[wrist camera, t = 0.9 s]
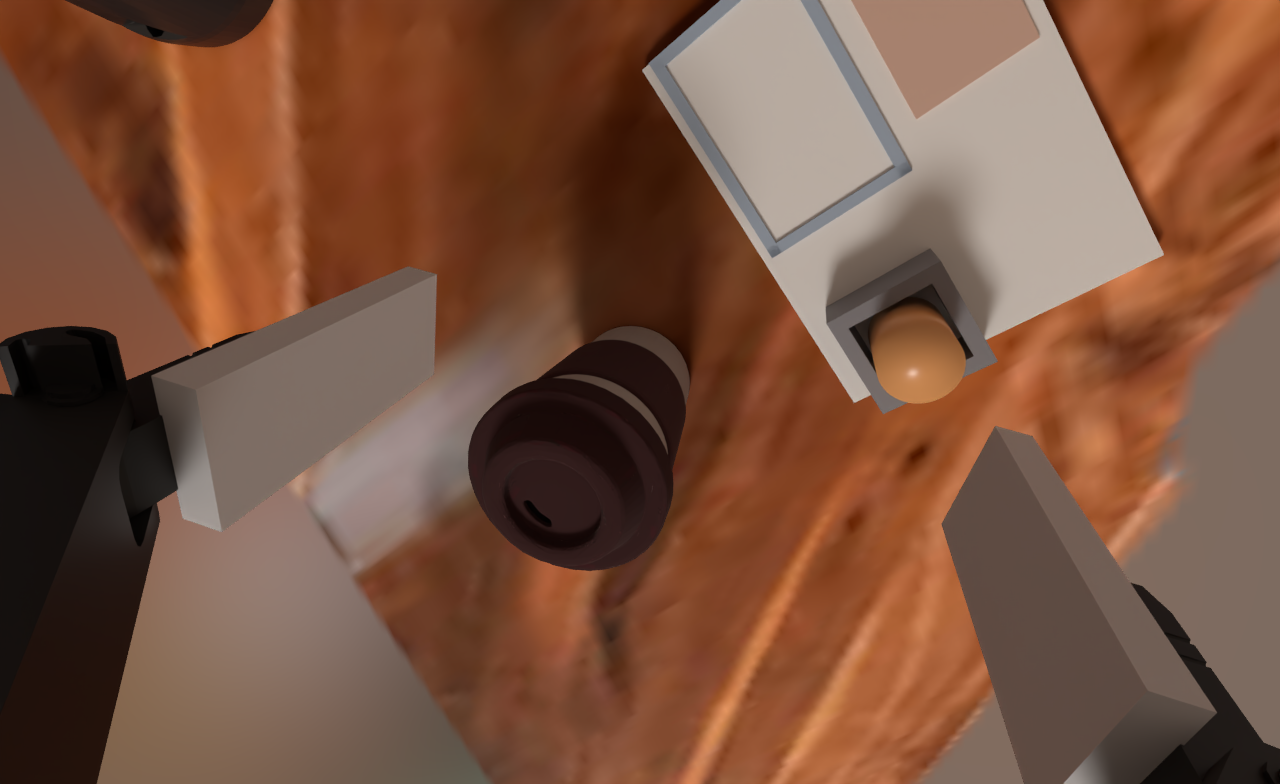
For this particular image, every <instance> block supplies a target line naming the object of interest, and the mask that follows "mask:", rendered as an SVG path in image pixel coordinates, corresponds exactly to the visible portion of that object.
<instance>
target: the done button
mask: <svg viewBox="0 0 1280 784" xmlns="http://www.w3.org/2000/svg"><path fill="white" fill-rule="evenodd" d="M868 339H869V344H870V348H871V352H872V356H873V361H874V365H875V369H876V373H877V377H878V380H879V382H880V384H881V386H882V387H883V389H884V390H885V391H886V392H887V393H888V394H890V395H891V396H893V397H894V398H896V399H898V400H901V401H904V402H908V403H927V402H932V401H935V400H938V399H940V398H942V397H944V396H946V395H947V394H948V393H950V392H951V391H952V390H953V389H954V388H955V387H956V386H957V385H958V384H959V382H960V381H961V379H962V377H963V374H964V372H965V367H966V358H965V354H964V350H963V348H962V346H961V345H960V343H959V341H958V340H957V338H956V337H955V335H954V333H953V332H952V330H951V328H950V327H949V325H948V324H947V322H946V320H945V319H944V317H943V316H942V314H941V312H940V311H939V310H938V308H937V307H936V306H934V305H933V304H932V303H930V302H929V301H927V300H924V299H921V298H917V297H906V298H904V299H903V300H901V301H899V302H897V303H895V304H893V305H891V306H889V307H888V308H886V309H884V310H882V311H880V312H878V313H876V314H875V315H874V316H873V317H872V319H871V321H870V324H869V328H868Z"/></svg>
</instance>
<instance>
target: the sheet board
mask: <svg viewBox="0 0 1280 784" xmlns="http://www.w3.org/2000/svg"><path fill="white" fill-rule="evenodd" d="M642 71H643V73H644V74H645V76H646V77H647V79H648V80H649V82H650V84H651V85H652V87H653V88H654V90H655V91H656V93H657V95H658V96H659V98H660V99H661V101H662V102H663V104H664V106H665V107H666V109H667V110H668V112H669V113H670V115H671V116H672V118H673V120H674V121H675V123H676V124H677V126H678V127H679V129H680V131H681V132H682V134H683V135H684V137H685V138H686V140H687V142H688V143H689V145H690V146H691V148H692V149H693V151H694V153H695V154H696V156H697V157H698V159H699V160H700V162H701V163H702V165H703V167H704V168H705V170H706V171H707V173H708V174H709V176H710V178H711V179H712V181H713V182H714V184H715V185H716V187H717V189H718V190H719V192H720V193H721V195H722V196H723V198H724V200H725V201H726V203H727V204H728V206H729V207H730V209H731V211H732V212H733V214H734V215H735V217H736V218H737V220H738V221H739V223H740V225H741V226H742V228H743V229H744V231H745V232H746V234H747V236H748V237H749V239H750V240H751V242H752V243H753V245H754V247H755V248H756V250H757V251H758V253H759V254H760V256H761V258H762V259H763V261H764V262H765V264H766V265H767V267H768V269H769V270H770V272H771V273H772V275H773V276H774V278H775V279H776V281H777V283H778V284H779V286H780V287H781V289H782V290H783V292H784V294H785V295H786V297H787V298H788V300H789V301H790V303H791V305H792V306H793V308H794V309H795V311H796V312H797V314H798V316H799V317H800V319H801V320H802V322H803V323H804V325H805V327H806V328H807V330H808V331H809V333H810V334H811V336H812V337H813V339H814V341H815V342H816V344H817V345H818V347H819V348H820V350H821V352H822V353H823V355H824V356H825V358H826V359H827V361H828V363H829V364H830V366H831V367H832V369H833V370H834V372H835V374H836V375H837V377H838V378H839V380H840V381H841V383H842V384H843V386H844V388H845V389H846V391H847V392H848V394H849V395H850V397H851V399H852V400H853V402H854V403H855V402H857V401H859V400H861V399H863V398H865V397H867V396H869V395H872V397H873V399H874V400H875V402H876V403H877V405H878V407H879V408H880V410H881V411H882V413H883V414H884V413H886V412H889V411H891V410H893V409H895V408H897V407H900V406H902V405H904V404H906V403H908V402H904V401H901V400H898V399H896V398H894V397H893V396H891V395H890V394H888V393H887V392H886V391H885V390H884V389H883V387H882V386H881V384H880V382H879V380H878V377H877V373H876V369H875V365H874V361H873V356H872V352H871V348H870V344H869V339H868V328H869V324H870V321H871V319H872V317H873V316H874V315H875V314H876V313H878V312H880V311H882V310H884V309H886V308H888V307H889V306H891V305H893V304H895V303H897V302H899V301H901V300H903V299H904V298H906V297H917V298H921V299H924V300H927V301H929V302H930V303H932V304H933V305H934V306H936V307H937V308H938V310H939V311H940V312H941V314H942V316H943V317H944V319H945V320H946V322H947V324H948V325H949V327H950V328H951V330H952V332H953V333H954V335H955V337H956V338H957V340H958V341H959V343H960V345H961V346H962V348H963V350H964V354H965V358H966V367H965V372H964V374H963V377H965V376H967V375H969V374H971V373H974V372H976V371H978V370H980V369H982V368H985V367H987V366H989V365H991V364H993V363H995V362H998V361H997V359H996V357H995V356H994V354H993V352H992V350H991V349H990V347H989V345H988V343H987V342H986V340H987V339H989V338H991V337H993V336H995V335H997V334H999V333H1001V332H1003V331H1006V330H1008V329H1010V328H1012V327H1014V326H1016V325H1018V324H1020V323H1022V322H1024V321H1026V320H1029V319H1031V318H1033V317H1035V316H1037V315H1039V314H1041V313H1043V312H1045V311H1047V310H1049V309H1052V308H1054V307H1056V306H1058V305H1060V304H1062V303H1064V302H1066V301H1068V300H1070V299H1073V298H1075V297H1077V296H1079V295H1081V294H1083V293H1085V292H1087V291H1089V290H1091V289H1093V288H1096V287H1098V286H1100V285H1102V284H1104V283H1106V282H1108V281H1110V280H1112V279H1114V278H1116V277H1119V276H1121V275H1123V274H1125V273H1127V272H1129V271H1131V270H1133V269H1135V268H1137V267H1140V266H1142V265H1144V264H1146V263H1148V262H1150V261H1152V260H1154V259H1156V258H1158V257H1160V256H1163V255H1164V254H1163V251H1162V249H1161V247H1160V245H1159V243H1158V241H1157V239H1156V237H1155V235H1154V233H1153V230H1152V228H1151V226H1150V224H1149V222H1148V220H1147V218H1146V216H1145V214H1144V212H1143V209H1142V207H1141V205H1140V203H1139V201H1138V199H1137V197H1136V195H1135V193H1134V190H1133V188H1132V186H1131V184H1130V182H1129V180H1128V178H1127V176H1126V174H1125V172H1124V169H1123V167H1122V165H1121V163H1120V161H1119V159H1118V157H1117V155H1116V153H1115V150H1114V148H1113V146H1112V144H1111V142H1110V140H1109V138H1108V136H1107V134H1106V132H1105V129H1104V127H1103V125H1102V123H1101V121H1100V119H1099V117H1098V115H1097V113H1096V111H1095V108H1094V106H1093V104H1092V102H1091V100H1090V98H1089V96H1088V94H1087V92H1086V89H1085V87H1084V85H1083V83H1082V81H1081V79H1080V77H1079V75H1078V73H1077V71H1076V68H1075V66H1074V64H1073V62H1072V60H1071V58H1070V56H1069V54H1068V52H1067V50H1066V47H1065V45H1064V43H1063V41H1062V39H1061V37H1060V35H1059V33H1058V31H1057V28H1056V26H1055V24H1054V22H1053V20H1052V18H1051V16H1050V14H1049V12H1048V10H1047V7H1046V5H1045V3H1044V1H1043V0H720V1H719V2H718V3H717V4H716V5H715V6H713V7H712V8H711V9H710V10H709V11H708V12H707V13H705V14H704V15H703V16H702V17H701V18H700V19H699V20H697V21H696V22H695V23H694V24H693V25H692V26H691V27H689V28H688V29H687V30H686V31H685V32H684V33H683V34H681V35H680V36H679V37H678V38H677V39H676V40H675V41H673V42H672V43H671V44H670V45H669V46H668V47H667V48H666V49H664V50H663V51H662V52H661V53H660V54H659V55H658V56H656V57H655V58H654V59H653V60H652V61H651V62H650V63H649V64H648V65H647V66H646V67H645V68H644V69H643V70H642ZM963 377H962V378H963Z"/></svg>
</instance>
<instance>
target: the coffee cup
mask: <svg viewBox="0 0 1280 784" xmlns="http://www.w3.org/2000/svg"><path fill="white" fill-rule="evenodd" d="M689 387H690V378H689V372H688V369H687V365H686V363H685V361H684V359H683V357H682V355H681V353H680V352H679V351H678V349H677V348H676V347H675V345H673V344H672V343H671V342H670V341H669V340H668V339H667V338H665V337H664V336H662V335H661V334H659V333H657V332H655V331H653V330H650V329H647V328H643V327H637V326H624V327H618V328H614V329H611V330H609V331H607V332H605V333H603V334H601V335H600V336H599V337H597V338H596V339H595V340H594V341H592V342H591V343H589V344H586V345H584V346H582V347H580V348H578V349H577V350H575V351H574V352H573V353H571V354H570V355H569V356H567V357H566V358H565V359H563V360H562V361H561V362H559V363H558V364H557V365H556V366H554V367H553V368H552V369H550V370H549V371H548V372H546V373H545V374H544V375H542V376H541V377H540V378H539V379H537V380H536V381H532V382H529V383H526V384H524V385H521V386H519V387H517V388H515V389H513V390H512V391H510V392H508V393H507V394H506V395H505V396H503V397H502V398H501V399H500V400H499V401H498V402H497V403H496V404H494V405H493V406H492V407H491V408H490V409H489V410H488V411H487V412H486V413H485V414H484V416H483V417H482V418H481V420H480V421H479V422H478V424H477V426H476V428H475V430H474V432H473V434H472V438H471V441H470V445H469V451H468V469H469V476H470V480H471V483H472V487H473V490H474V493H475V495H476V497H477V499H478V501H479V504H480V506H481V507H482V509H483V510H484V512H485V514H486V515H487V517H488V518H489V520H490V521H491V522H492V523H493V525H494V526H495V527H496V528H497V529H498V530H499V531H500V532H501V534H502V535H503V536H504V537H505V538H506V539H507V540H508V541H509V542H510V543H512V544H513V545H514V546H516V547H517V548H518V549H520V550H521V551H522V552H524V553H526V554H528V555H530V556H532V557H534V558H536V559H538V560H540V561H544V562H547V563H550V564H552V565H555V566H560V567H564V568H568V569H573V570H587V571H592V570H604V569H609V568H613V567H617V566H620V565H622V564H625V563H627V562H629V561H631V560H633V559H635V558H636V557H638V556H639V555H640V554H642V553H643V552H645V551H646V550H647V549H648V548H649V547H650V546H651V545H652V543H653V542H654V541H655V540H656V538H657V536H658V535H659V533H660V531H661V529H662V527H663V525H664V522H665V519H666V517H667V514H668V511H669V508H670V505H671V500H672V496H673V473H672V469H673V465H674V461H675V457H676V454H677V450H678V446H679V442H680V438H681V434H682V430H683V427H684V422H685V415H686V406H685V405H686V402H687V398H688V394H689Z"/></svg>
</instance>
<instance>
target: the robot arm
mask: <svg viewBox="0 0 1280 784" xmlns="http://www.w3.org/2000/svg"><path fill="white" fill-rule="evenodd" d="M65 1H68V2H70V3H72V4H74V5H76V6H79V7H81V8H83V9H85V10H87V11H90V12H92V13H94V14H96V15H98V16H101V17H103V18H105V19H107V20H109V21H112V22H114V23H116V24H119V25H122V26H124V27H126V28H127V29H129V30H131V31H134V32H136V33H138V34H140V35H143V36H145V37H148V38H151V39H154V40H157V41H161V42H165V43H170V44H178V45H188V46H197V47H218V46H223V45H227V44H230V43H233V42H235V41H237V40H239V39H241V38H243V37H244V36H246V35H247V34H248V33H249V32H251V31H252V30H253V29H254V28H255V27H256V26H257V25H258V24H259V23H260V21H261V20H262V19H263V17H264V16H265V14H266V13H267V11H268V10H269V8H270V6H271V4H272V2H273V0H65ZM436 281H437V274H434V273H430V272H426V271H423V270H419V269H415V268H412V267H406V268H403V269H401V270H399V271H396V272H394V273H392V274H389V275H387V276H385V277H382V278H380V279H377V280H375V281H373V282H370V283H368V284H366V285H363V286H361V287H359V288H356V289H354V290H352V291H349V292H347V293H345V294H342V295H340V296H337V297H335V298H333V299H330V300H328V301H326V302H323V303H321V304H319V305H316V306H314V307H312V308H309V309H307V310H304V311H302V312H300V313H297V314H295V315H293V316H290V317H288V318H286V319H283V320H281V321H279V322H276V323H274V324H272V325H269V326H267V327H264V328H262V329H260V330H257V331H253V332H248V333H243V334H238V335H235V336H233V337H230V338H228V339H225V340H223V341H221V342H218V343H216V344H213V345H212V348H210V347H206V348H204V349H201V350H199V351H197V352H194V353H193V355H192V356H189V355H187V356H185V357H182V358H180V359H177V360H175V361H173V362H170V363H168V364H166V365H163V366H161V367H158V368H156V369H153V370H151V371H149V372H146V373H144V374H142V375H139V376H137V377H134V378H132V379H129V380H126V376H125V372H124V367H123V363H122V359H121V355H120V351H119V347H118V343H117V339H116V336H114V335H113V334H111V333H109V332H108V331H105V330H100V329H97V328H92V327H77V326H66V327H51V328H44V329H39V330H34V331H28V332H24V333H21V334H18V335H16V336H13V337H10V338H7V339H5V340H4V341H3V342H1V343H0V361H1V364H2V367H3V369H4V372H5V375H6V378H7V381H8V384H9V387H10V390H11V392H12V395H8V394H0V784H97V780H98V776H99V771H100V767H101V763H102V759H103V755H104V751H105V747H106V743H107V738H108V734H109V730H110V726H111V721H112V718H113V713H114V709H115V705H116V701H117V697H118V693H119V689H120V684H121V680H122V676H123V672H124V667H125V663H126V660H127V655H128V651H129V647H130V642H131V639H132V635H133V630H134V626H135V622H136V618H137V614H138V610H139V605H140V601H141V597H142V593H143V589H144V585H145V581H146V576H147V572H148V568H149V564H150V560H151V556H152V551H153V547H154V543H155V539H156V534H157V530H158V527H159V522H160V517H159V511H158V507H157V502H159V501H160V500H162V499H163V498H165V497H167V496H168V495H170V494H172V493H173V492H175V491H176V490H177V495H178V499H179V504H180V508H181V512H182V517H183V519H186V520H189V521H192V522H194V523H197V524H200V525H203V526H206V527H209V528H211V529H214V530H217V531H220V532H223V531H224V530H225V529H227V528H228V527H229V526H231V525H232V524H233V523H235V522H236V521H238V520H239V519H240V518H242V517H243V516H244V515H246V514H247V513H248V512H250V511H251V510H252V509H254V508H255V507H256V506H258V505H259V504H260V503H262V502H263V501H264V500H266V499H267V498H268V497H270V496H271V495H273V494H274V493H275V492H276V491H278V490H279V489H281V488H282V487H283V486H285V485H286V484H287V483H289V482H290V481H291V480H293V479H294V478H295V477H297V476H298V475H299V474H301V473H302V472H303V471H305V470H306V469H307V468H309V467H310V466H311V465H313V464H314V463H316V462H317V461H318V460H320V459H321V458H322V457H324V456H325V455H326V454H328V453H329V452H330V451H332V450H333V449H334V448H336V447H337V446H338V445H340V444H341V443H342V442H344V441H345V440H346V439H348V438H349V437H350V436H352V435H353V434H354V433H356V432H357V431H359V430H360V429H361V428H363V427H364V426H365V425H367V424H368V423H369V422H371V421H372V420H373V419H375V418H376V417H377V416H379V415H380V414H381V413H383V412H384V411H385V410H387V409H388V408H389V407H391V406H392V405H393V404H395V403H396V402H397V401H399V400H400V399H402V398H403V397H404V396H406V395H407V394H408V393H410V392H411V391H412V390H414V389H415V388H416V387H418V386H419V385H420V384H422V383H423V382H424V381H426V380H427V379H428V378H430V377H431V376H432V375H434V353H435V317H436ZM942 527H943V530H944V533H945V537H946V540H947V543H948V546H949V549H950V552H951V556H952V559H953V562H954V565H955V568H956V571H957V574H958V578H959V581H960V584H961V587H962V590H963V593H964V596H965V600H966V603H967V606H968V609H969V612H970V615H971V618H972V622H973V625H974V628H975V631H976V634H977V637H978V640H979V644H980V647H981V650H982V653H983V656H984V659H985V662H986V666H987V669H988V672H989V675H990V678H991V681H992V685H993V688H994V691H995V694H996V697H997V700H998V703H999V706H1000V709H1001V713H1002V716H1003V719H1004V722H1005V725H1006V729H1007V731H1008V735H1009V738H1010V741H1011V744H1012V747H1013V751H1014V754H1015V757H1016V760H1017V763H1018V766H1019V769H1020V772H1021V776H1022V779H1023V782H1024V784H1280V749H1278V748H1276V747H1273V746H1271V745H1268V744H1266V743H1263V741H1262V740H1261V738H1260V737H1259V736H1258V734H1257V733H1256V731H1255V730H1254V728H1253V727H1252V726H1251V724H1250V723H1249V722H1248V720H1247V719H1246V717H1245V716H1244V714H1243V713H1242V712H1241V710H1240V709H1239V707H1238V706H1237V705H1236V703H1235V702H1234V700H1233V699H1232V698H1231V696H1230V695H1229V693H1228V692H1227V690H1226V689H1225V688H1224V686H1223V685H1222V684H1221V682H1220V681H1219V679H1218V678H1217V676H1216V675H1215V674H1214V672H1213V671H1212V669H1211V668H1209V667H1206V661H1205V659H1204V658H1203V657H1202V655H1201V654H1200V652H1199V651H1198V650H1197V648H1196V647H1195V646H1194V645H1192V644H1190V638H1189V637H1188V635H1187V634H1186V633H1185V631H1184V630H1183V628H1182V627H1181V626H1180V624H1179V623H1178V621H1177V620H1176V619H1175V617H1174V616H1173V614H1172V613H1171V612H1170V611H1169V610H1168V609H1167V608H1166V607H1164V606H1163V605H1162V604H1161V603H1160V602H1159V601H1158V600H1157V599H1156V598H1155V597H1154V596H1152V595H1151V594H1150V593H1149V592H1148V591H1147V590H1146V589H1145V588H1144V587H1143V586H1140V585H1136V584H1133V583H1130V582H1129V580H1128V579H1127V577H1126V576H1125V574H1124V573H1123V571H1122V570H1121V568H1120V567H1119V565H1118V564H1117V562H1116V561H1115V559H1114V558H1113V556H1112V555H1111V553H1110V552H1109V550H1108V549H1107V547H1106V546H1105V544H1104V543H1103V541H1102V540H1101V538H1100V537H1099V535H1098V534H1097V532H1096V531H1095V529H1094V528H1093V526H1092V525H1091V523H1090V522H1089V520H1088V519H1087V517H1086V516H1085V514H1084V513H1083V511H1082V510H1081V508H1080V507H1079V505H1078V504H1077V502H1076V501H1075V499H1074V498H1073V496H1072V495H1071V493H1070V492H1069V490H1068V489H1067V487H1066V486H1065V484H1064V483H1063V481H1062V480H1061V478H1060V477H1059V475H1058V474H1057V472H1056V471H1055V469H1054V468H1053V466H1052V465H1051V463H1050V462H1049V460H1048V459H1047V457H1046V456H1045V454H1044V453H1043V451H1042V450H1041V448H1040V447H1039V445H1038V444H1037V442H1036V441H1035V439H1034V438H1033V436H1030V435H1026V434H1023V433H1019V432H1015V431H1012V430H1008V429H1004V428H1001V427H997V426H995V427H994V429H993V431H992V433H991V435H990V436H989V438H988V440H987V442H986V444H985V446H984V447H983V449H982V451H981V453H980V455H979V457H978V458H977V460H976V462H975V464H974V466H973V468H972V469H971V471H970V473H969V475H968V477H967V479H966V480H965V482H964V484H963V486H962V488H961V489H960V491H959V493H958V495H957V497H956V499H955V500H954V502H953V504H952V506H951V508H950V510H949V511H948V513H947V515H946V517H945V519H944V521H943V522H942Z"/></svg>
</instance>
